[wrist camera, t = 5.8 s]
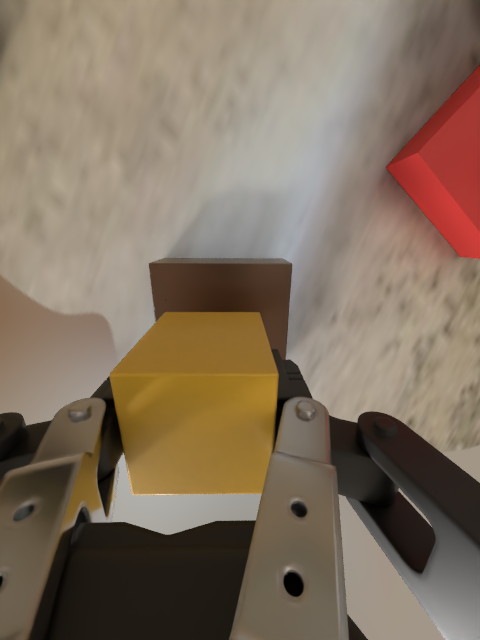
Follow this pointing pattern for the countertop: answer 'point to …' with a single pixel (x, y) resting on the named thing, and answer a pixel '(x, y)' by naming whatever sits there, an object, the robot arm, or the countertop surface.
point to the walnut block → (226, 290)
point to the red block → (448, 168)
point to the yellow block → (198, 405)
